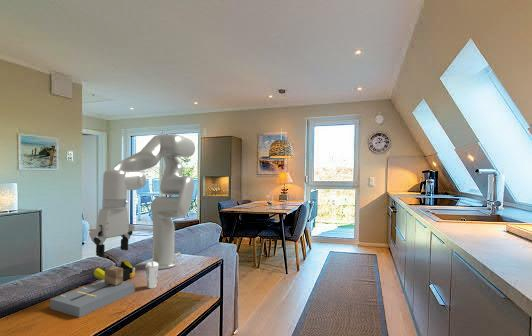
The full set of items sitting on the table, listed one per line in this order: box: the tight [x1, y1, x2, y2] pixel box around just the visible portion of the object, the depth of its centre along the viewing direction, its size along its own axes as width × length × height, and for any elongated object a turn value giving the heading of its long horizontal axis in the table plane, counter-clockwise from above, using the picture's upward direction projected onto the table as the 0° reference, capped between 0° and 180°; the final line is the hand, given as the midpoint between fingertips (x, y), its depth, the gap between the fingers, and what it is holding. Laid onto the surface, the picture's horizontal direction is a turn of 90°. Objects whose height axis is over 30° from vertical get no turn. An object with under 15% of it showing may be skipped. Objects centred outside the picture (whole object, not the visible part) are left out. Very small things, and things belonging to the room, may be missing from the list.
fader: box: [104, 265, 123, 285], centre depth 104 cm, size 3×6×5 cm, turn 66°
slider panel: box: [49, 279, 136, 319], centre depth 97 cm, size 20×14×3 cm
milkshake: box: [145, 260, 159, 289], centre depth 108 cm, size 5×5×10 cm
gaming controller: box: [93, 259, 136, 282], centre depth 117 cm, size 15×6×10 cm
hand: (112, 252), depth 103 cm, fingers open, 9 cm apart
